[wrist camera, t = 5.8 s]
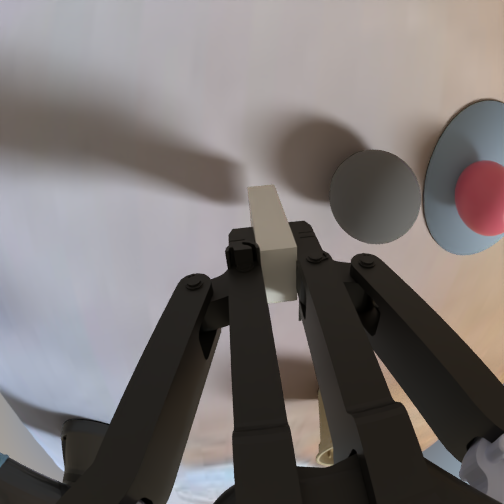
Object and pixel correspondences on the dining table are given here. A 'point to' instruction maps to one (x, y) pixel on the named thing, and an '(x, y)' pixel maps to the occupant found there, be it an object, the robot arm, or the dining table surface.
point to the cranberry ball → (481, 197)
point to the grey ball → (375, 196)
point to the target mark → (452, 165)
